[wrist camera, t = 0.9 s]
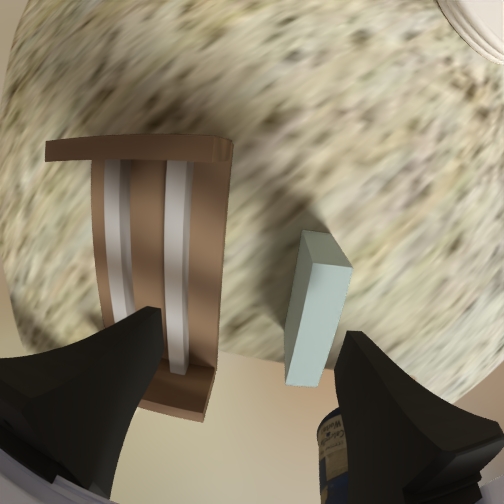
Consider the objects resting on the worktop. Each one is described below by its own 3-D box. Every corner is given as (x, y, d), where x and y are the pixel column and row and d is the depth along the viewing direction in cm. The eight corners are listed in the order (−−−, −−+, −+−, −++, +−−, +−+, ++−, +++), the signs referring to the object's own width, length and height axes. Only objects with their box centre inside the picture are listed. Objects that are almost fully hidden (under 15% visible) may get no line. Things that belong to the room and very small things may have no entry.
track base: (216, 370, 23) (203, 422, 18) (114, 347, 24) (85, 388, 18) (234, 141, 17) (214, 135, 11) (100, 139, 17) (45, 141, 12)
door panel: (309, 332, 21) (317, 387, 16) (283, 329, 21) (285, 384, 16) (330, 233, 19) (353, 268, 13) (301, 229, 19) (312, 262, 13)
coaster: (523, 41, 10) (543, 36, 7) (493, 84, 13) (519, 80, 10) (455, -37, 9) (471, -50, 5) (412, -9, 12) (429, -27, 8)
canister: (395, 429, 25) (426, 555, 9) (318, 447, 27) (324, 580, 10) (404, 378, 23) (461, 538, 6) (310, 401, 24) (318, 580, 7)
